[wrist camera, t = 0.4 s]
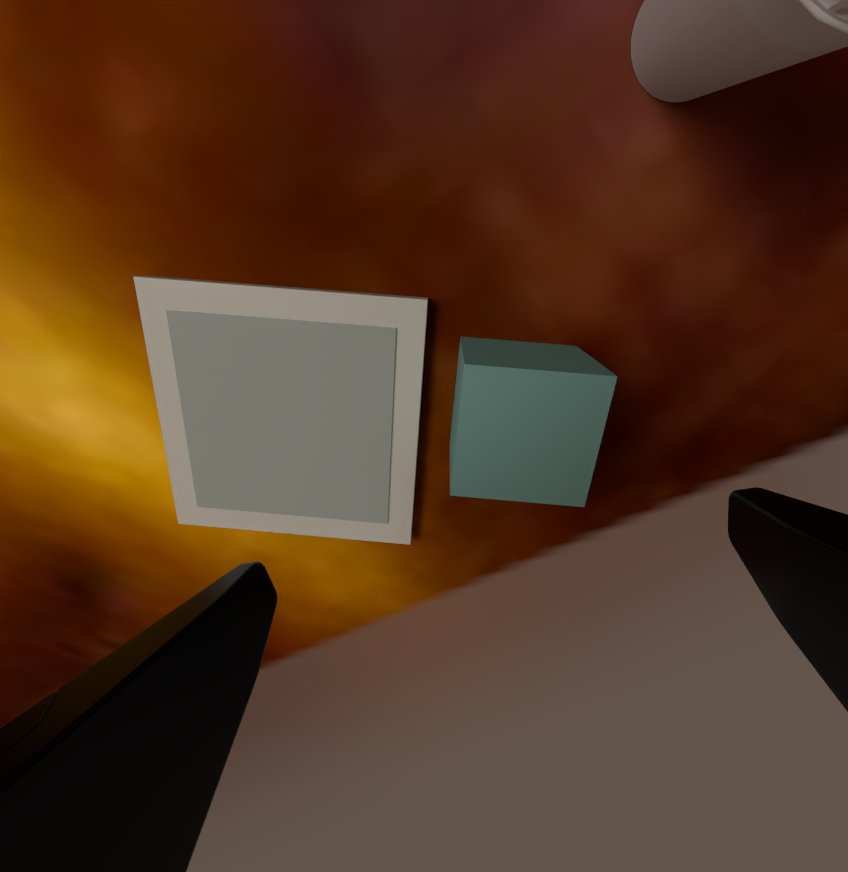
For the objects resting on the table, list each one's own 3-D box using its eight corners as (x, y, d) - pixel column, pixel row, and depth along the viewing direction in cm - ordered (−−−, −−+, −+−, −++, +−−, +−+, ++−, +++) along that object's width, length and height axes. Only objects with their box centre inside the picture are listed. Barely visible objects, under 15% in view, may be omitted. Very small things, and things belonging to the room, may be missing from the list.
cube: (576, 345, 19) (617, 376, 14) (554, 450, 21) (584, 507, 16) (460, 336, 19) (464, 364, 14) (449, 441, 21) (449, 495, 16)
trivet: (428, 297, 18) (427, 300, 17) (411, 534, 23) (410, 545, 22) (146, 275, 18) (131, 276, 18) (187, 514, 23) (177, 524, 22)
